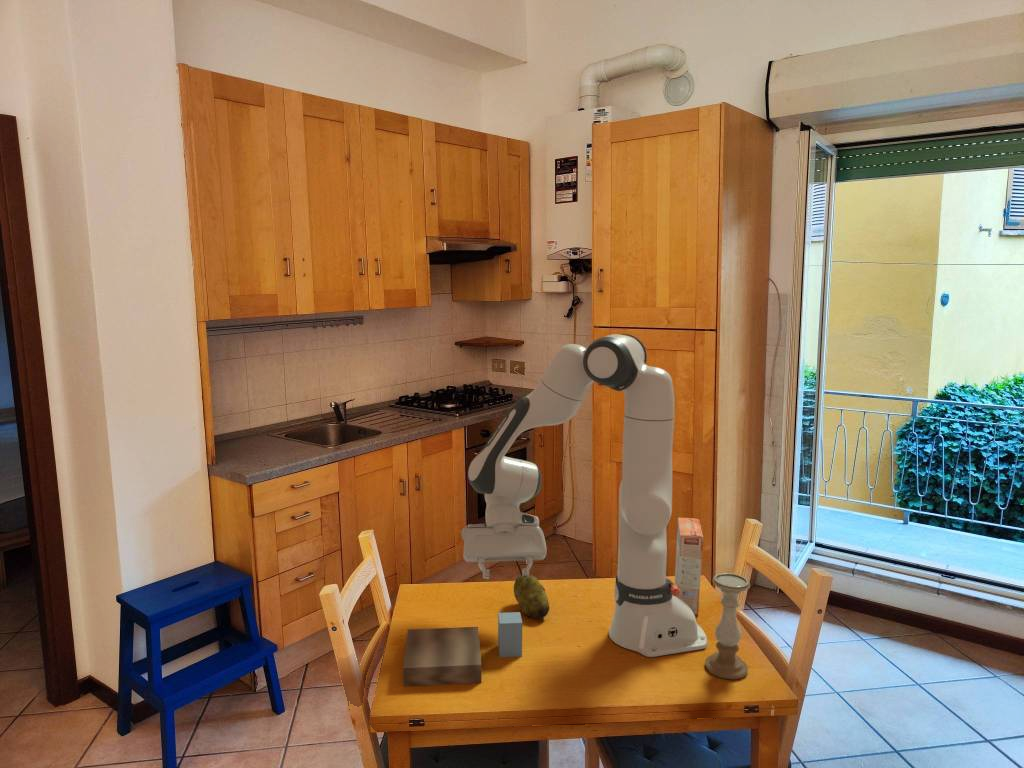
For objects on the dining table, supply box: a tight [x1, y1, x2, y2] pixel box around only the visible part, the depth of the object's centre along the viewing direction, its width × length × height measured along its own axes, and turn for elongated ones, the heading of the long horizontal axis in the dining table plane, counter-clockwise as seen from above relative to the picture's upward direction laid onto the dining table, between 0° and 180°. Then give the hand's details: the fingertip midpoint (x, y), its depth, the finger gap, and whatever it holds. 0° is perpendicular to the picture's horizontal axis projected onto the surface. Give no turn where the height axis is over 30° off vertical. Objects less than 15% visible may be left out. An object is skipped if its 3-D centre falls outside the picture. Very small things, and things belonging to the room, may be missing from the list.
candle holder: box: [704, 572, 751, 680], centre depth 149 cm, size 9×9×20 cm
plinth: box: [402, 626, 482, 687], centre depth 151 cm, size 16×16×4 cm
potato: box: [513, 573, 550, 620], centre depth 175 cm, size 8×13×8 cm, turn 5°
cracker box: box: [673, 517, 704, 616], centre depth 179 cm, size 14×6×21 cm, turn 168°
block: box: [497, 611, 523, 658], centre depth 156 cm, size 5×5×8 cm
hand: (506, 577), depth 165 cm, fingers open, 8 cm apart
